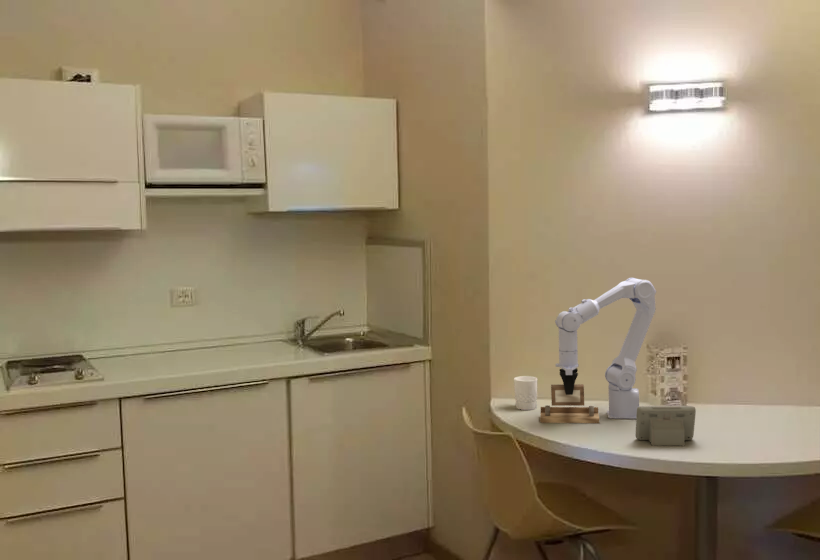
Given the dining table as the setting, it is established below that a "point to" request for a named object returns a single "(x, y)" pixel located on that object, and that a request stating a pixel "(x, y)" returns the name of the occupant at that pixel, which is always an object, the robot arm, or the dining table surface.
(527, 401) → the white cup
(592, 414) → the wooden stand base
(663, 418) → the digital clock
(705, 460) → the dining table surface
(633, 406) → the robot arm
